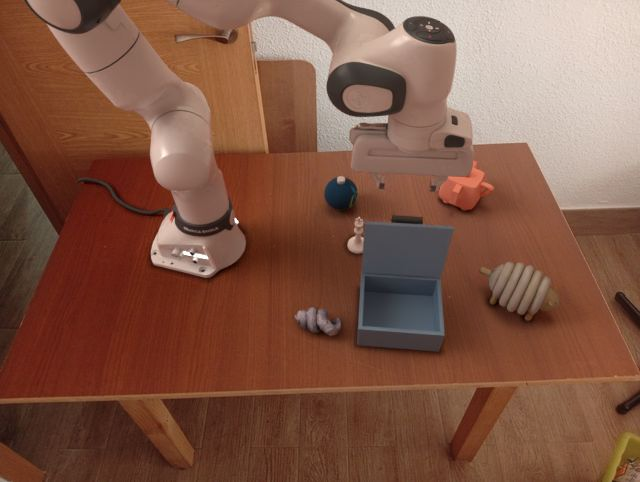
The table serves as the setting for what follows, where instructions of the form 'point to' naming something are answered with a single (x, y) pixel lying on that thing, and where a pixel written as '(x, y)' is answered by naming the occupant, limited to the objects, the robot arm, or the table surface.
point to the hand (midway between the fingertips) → (406, 187)
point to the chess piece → (357, 238)
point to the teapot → (465, 189)
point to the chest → (400, 312)
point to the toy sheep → (521, 289)
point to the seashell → (317, 321)
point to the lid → (405, 247)
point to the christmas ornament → (340, 193)
